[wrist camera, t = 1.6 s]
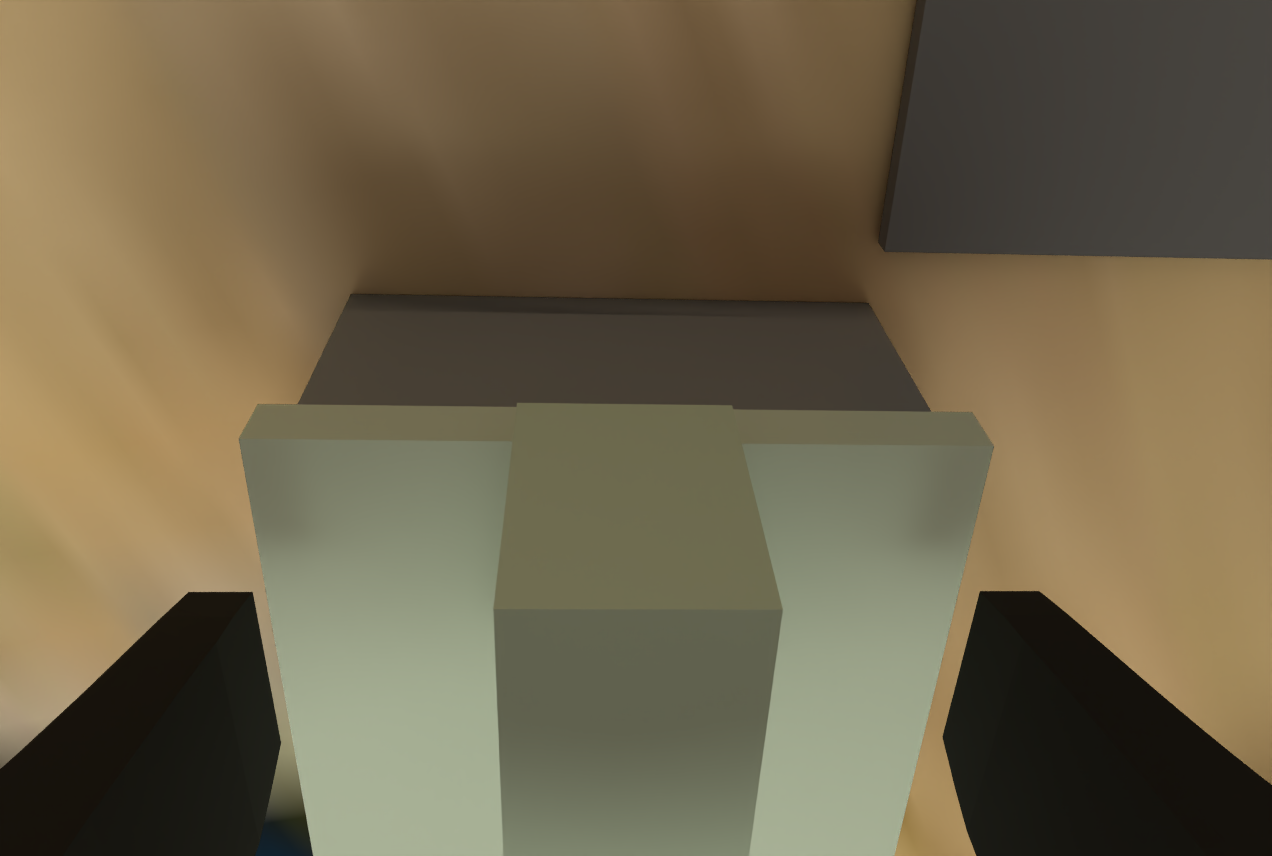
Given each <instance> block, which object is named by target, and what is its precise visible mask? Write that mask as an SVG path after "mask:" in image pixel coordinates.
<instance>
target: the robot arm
mask: <svg viewBox="0 0 1272 856" xmlns="http://www.w3.org/2000/svg"><path fill="white" fill-rule="evenodd" d="M943 741H944V745H945V749H946V753H947V757H948V761H949V765H950V769H951V773H952V777H953V781H954V785H955V789H956V793H957V796H958V800H959V804H960V807H961V811H962V815H963V818H964V822H965V825H966V829H967V832H968V835H969V838H970V840H971V843H972V845H973V848H974V851H975V853H976V856H1272V785H1271V784H1270V783H1268V782H1267V781H1266V780H1264V779H1263V778H1262V777H1261V776H1259V775H1258V774H1257V773H1256V772H1254V771H1253V770H1252V769H1251V768H1249V767H1248V766H1247V765H1246V764H1244V763H1243V762H1242V761H1241V760H1239V759H1238V758H1237V757H1236V756H1234V755H1233V754H1232V753H1231V752H1229V751H1228V750H1227V749H1226V748H1224V747H1223V746H1222V745H1221V744H1219V743H1218V742H1217V741H1216V740H1215V739H1213V738H1212V737H1211V736H1210V735H1208V734H1207V733H1206V732H1205V731H1204V730H1202V729H1201V728H1200V727H1199V726H1198V725H1196V724H1195V723H1194V722H1193V721H1192V720H1190V719H1189V718H1188V717H1187V716H1186V715H1184V714H1183V713H1182V712H1181V711H1180V710H1178V709H1177V708H1176V707H1175V706H1174V705H1173V704H1171V703H1170V702H1169V701H1168V700H1167V699H1165V698H1164V697H1163V696H1162V695H1161V694H1160V693H1158V692H1157V691H1156V690H1155V689H1154V688H1153V687H1151V686H1150V685H1149V684H1148V683H1147V682H1146V681H1144V680H1143V679H1142V678H1141V677H1140V676H1139V675H1137V674H1136V673H1135V672H1134V671H1133V670H1132V669H1130V668H1129V667H1128V666H1127V665H1126V664H1125V663H1124V662H1122V661H1121V660H1120V659H1119V658H1118V657H1117V656H1115V655H1114V654H1113V653H1112V652H1111V651H1110V650H1109V649H1107V648H1106V647H1105V646H1104V645H1103V644H1102V643H1100V642H1099V641H1098V640H1097V639H1096V638H1095V637H1093V636H1092V635H1091V634H1090V633H1089V632H1088V631H1087V630H1085V629H1084V628H1083V627H1082V626H1081V625H1080V624H1078V623H1077V622H1076V621H1075V620H1074V619H1073V618H1071V617H1070V616H1069V615H1068V614H1067V613H1065V612H1064V611H1063V610H1062V609H1061V608H1059V607H1058V606H1057V605H1056V604H1055V603H1053V602H1052V601H1051V600H1050V599H1048V598H1047V597H1046V596H1045V595H1043V594H1042V593H1041V592H1039V591H980V594H979V598H978V601H977V605H976V609H975V613H974V617H973V621H972V625H971V629H970V632H969V636H968V640H967V644H966V648H965V652H964V656H963V660H962V664H961V667H960V671H959V675H958V679H957V683H956V687H955V691H954V695H953V698H952V702H951V706H950V710H949V714H948V718H947V722H946V726H945V730H944V733H943ZM280 745H281V741H280V735H279V730H278V725H277V719H276V714H275V709H274V703H273V698H272V693H271V688H270V682H269V677H268V672H267V666H266V661H265V656H264V650H263V645H262V640H261V634H260V629H259V624H258V618H257V613H256V608H255V602H254V597H253V592H188V593H187V594H186V595H185V596H184V597H183V598H182V599H181V600H180V601H179V602H178V603H177V604H176V605H174V606H173V607H172V608H171V609H170V610H169V611H168V612H167V613H166V614H165V615H164V616H162V617H161V618H160V619H159V620H158V621H157V622H156V623H155V624H154V625H153V626H152V627H151V628H150V629H149V630H148V631H147V632H146V633H145V634H144V635H143V636H142V637H141V638H140V639H138V640H137V641H136V642H135V643H134V644H133V645H132V646H131V647H130V648H129V649H128V650H127V651H126V652H125V653H124V654H123V655H122V656H121V657H120V658H119V659H118V660H117V661H116V662H115V663H114V664H113V665H112V666H111V667H110V668H109V669H107V670H106V671H105V672H104V673H103V674H102V675H101V676H100V677H99V678H98V679H97V680H96V681H95V682H94V683H93V684H92V685H91V686H90V687H89V688H88V689H87V690H86V691H85V692H84V693H82V694H81V695H80V696H79V697H78V698H77V699H76V700H75V701H74V702H73V703H72V704H71V705H70V706H69V707H67V708H66V709H65V710H64V711H63V712H62V713H61V714H60V715H59V716H58V717H57V718H56V719H55V720H53V721H52V722H51V723H50V724H49V725H48V726H47V727H46V728H45V729H44V730H43V731H42V732H40V733H39V734H38V735H37V736H36V737H35V738H34V739H33V740H32V741H31V742H30V743H29V744H28V745H26V746H25V747H24V748H23V749H22V750H21V751H20V752H19V753H18V754H17V755H16V756H14V757H13V758H12V759H11V760H10V761H9V762H8V763H7V764H6V765H4V766H3V767H2V768H1V769H0V856H255V854H256V851H257V848H258V845H259V842H260V838H261V833H262V829H263V824H264V820H265V816H266V811H267V807H268V803H269V798H270V794H271V789H272V784H273V779H274V774H275V769H276V765H277V760H278V755H279V750H280Z"/></svg>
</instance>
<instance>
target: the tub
mask: <svg viewBox="0 0 1272 856" xmlns="http://www.w3.org/2000/svg"><path fill="white" fill-rule="evenodd" d="M517 403H575V404H661V405H732V407H733V409H739V410H827V411H914V412H931V410H930V409H929V407H928V405H927V403H926V402H925V400H924V398H923V397H922V395H921V393H920V391H919V390H918V388H917V386H916V384H915V383H914V381H913V379H912V378H911V376H910V374H909V372H908V371H907V369H906V367H905V365H904V364H903V362H902V360H901V358H900V357H899V355H898V353H897V352H896V350H895V348H894V346H893V345H892V343H891V341H890V339H889V338H888V336H887V334H886V333H885V331H884V329H883V327H882V326H881V324H880V322H879V320H878V319H877V317H876V315H875V313H874V312H873V310H872V308H871V307H870V305H869V303H839V302H781V301H722V300H664V299H606V298H548V297H489V296H431V295H373V294H351V295H350V297H349V299H348V301H347V303H346V305H345V308H344V310H343V312H342V314H341V316H340V318H339V320H338V322H337V324H336V326H335V328H334V330H333V332H332V334H331V336H330V339H329V341H328V343H327V345H326V347H325V349H324V351H323V353H322V355H321V357H320V359H319V361H318V363H317V365H316V367H315V370H314V372H313V374H312V376H311V378H310V380H309V382H308V384H307V386H306V388H305V390H304V392H303V394H302V396H301V398H300V400H299V403H298V404H303V405H390V406H478V407H517Z"/></svg>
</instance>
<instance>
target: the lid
mask: <svg viewBox="0 0 1272 856" xmlns="http://www.w3.org/2000/svg"><path fill="white" fill-rule="evenodd" d="M239 443H240V449H241V454H242V460H243V466H244V471H245V477H246V482H247V488H248V493H249V499H250V505H251V510H252V516H253V521H254V527H255V533H256V538H257V544H258V549H259V555H260V561H261V566H262V572H263V577H264V583H265V588H266V594H267V600H268V605H269V611H270V616H271V622H272V628H273V633H274V639H275V644H276V650H277V655H278V661H279V667H280V672H281V678H282V683H283V689H284V695H285V700H286V706H287V711H288V717H289V723H290V728H291V734H292V739H293V745H294V750H295V756H296V762H297V767H298V773H299V778H300V784H301V790H302V795H303V801H304V806H305V812H306V818H307V823H308V829H309V834H310V840H311V845H312V851H313V856H894V854H895V850H896V846H897V842H898V838H899V834H900V830H901V826H902V822H903V818H904V813H905V809H906V805H907V801H908V797H909V793H910V789H911V785H912V781H913V776H914V772H915V768H916V764H917V760H918V756H919V752H920V748H921V744H922V740H923V735H924V731H925V727H926V723H927V719H928V715H929V711H930V707H931V703H932V698H933V694H934V690H935V686H936V682H937V678H938V674H939V670H940V666H941V662H942V657H943V653H944V649H945V645H946V641H947V637H948V633H949V629H950V625H951V620H952V616H953V612H954V608H955V604H956V600H957V596H958V592H959V588H960V583H961V579H962V575H963V571H964V567H965V563H966V559H967V555H968V551H969V547H970V542H971V538H972V534H973V530H974V526H975V522H976V518H977V514H978V510H979V505H980V501H981V497H982V493H983V489H984V485H985V481H986V477H987V473H988V469H989V464H990V460H991V456H992V452H993V448H994V445H993V444H992V442H991V441H990V439H989V438H988V436H987V435H986V433H985V431H984V430H983V428H982V427H981V425H980V424H979V422H978V421H977V419H976V417H975V416H974V414H973V413H972V412H914V411H827V410H739V409H733V407H732V405H661V404H575V403H517V407H478V406H390V405H303V404H258V405H257V407H256V408H255V410H254V412H253V414H252V416H251V417H250V419H249V421H248V423H247V425H246V426H245V428H244V430H243V432H242V434H241V436H240V437H239Z"/></svg>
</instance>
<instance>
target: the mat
mask: <svg viewBox="0 0 1272 856" xmlns="http://www.w3.org/2000/svg"><path fill="white" fill-rule="evenodd" d="M878 243H879V244H880V246H881V247H882V249H883V250H884V251H885V252H923V253H973V254H1024V255H1074V256H1124V257H1174V258H1225V259H1272V0H917V3H916V10H915V16H914V22H913V28H912V34H911V41H910V47H909V53H908V59H907V66H906V72H905V78H904V84H903V91H902V97H901V103H900V109H899V116H898V122H897V128H896V134H895V141H894V147H893V153H892V159H891V165H890V172H889V178H888V184H887V190H886V197H885V203H884V209H883V215H882V222H881V228H880V234H879V240H878Z"/></svg>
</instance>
